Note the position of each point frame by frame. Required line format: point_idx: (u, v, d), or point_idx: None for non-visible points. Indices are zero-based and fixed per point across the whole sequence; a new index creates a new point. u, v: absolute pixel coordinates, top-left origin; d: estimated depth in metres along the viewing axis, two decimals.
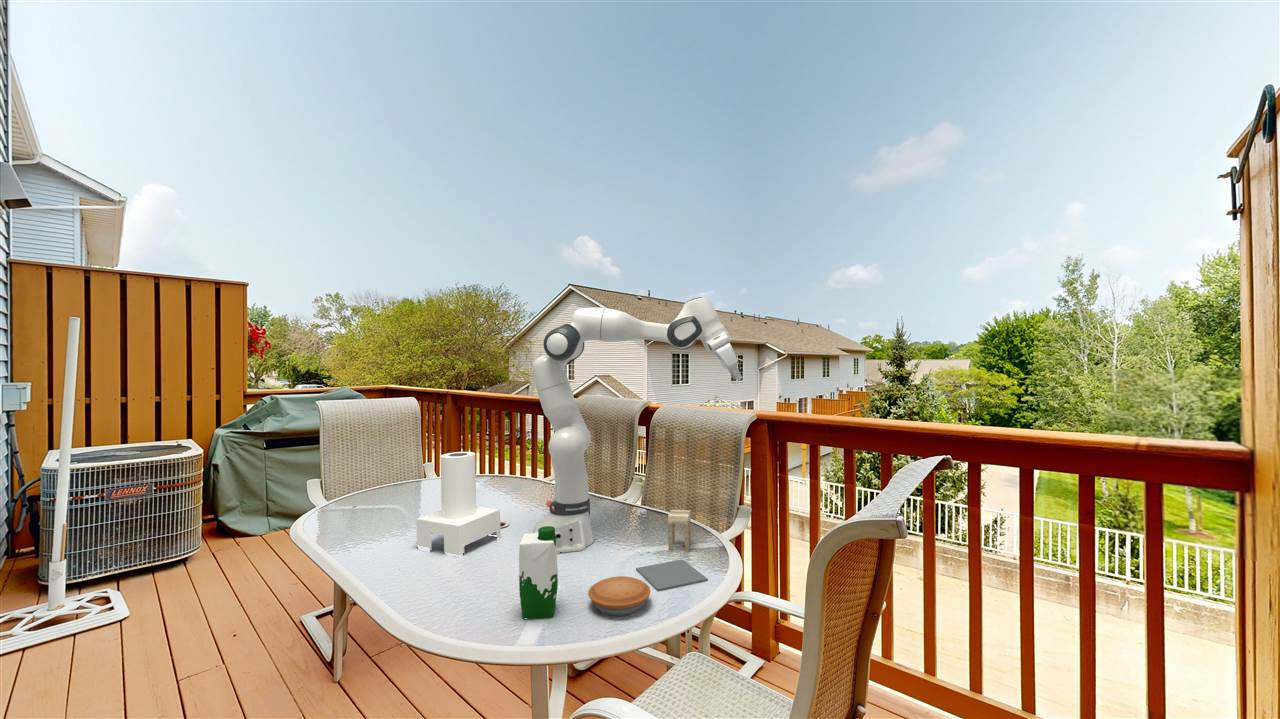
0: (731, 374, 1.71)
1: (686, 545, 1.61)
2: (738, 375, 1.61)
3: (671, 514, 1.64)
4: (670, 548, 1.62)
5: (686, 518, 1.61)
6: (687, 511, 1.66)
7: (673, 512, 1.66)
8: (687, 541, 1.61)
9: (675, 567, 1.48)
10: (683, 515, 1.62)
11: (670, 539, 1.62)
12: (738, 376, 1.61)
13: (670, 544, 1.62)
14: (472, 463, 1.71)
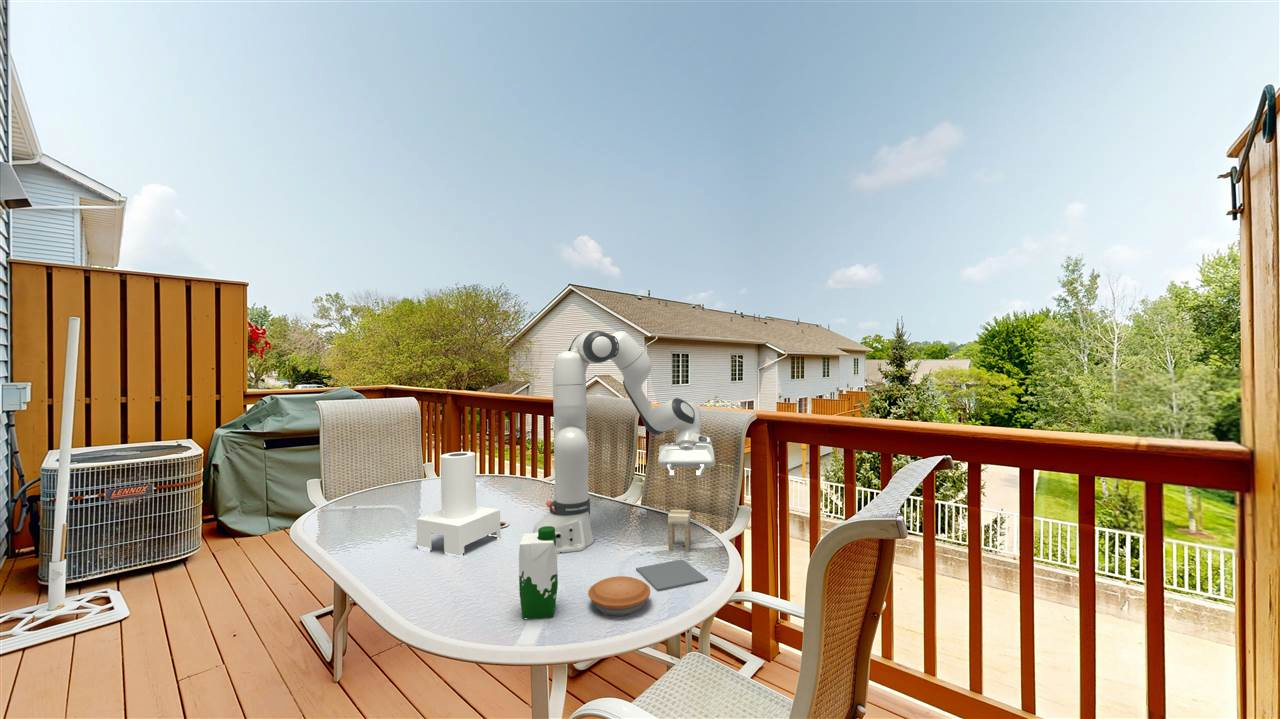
0: None
1: (686, 545, 1.61)
2: (701, 473, 1.77)
3: (671, 514, 1.64)
4: (670, 548, 1.62)
5: (686, 518, 1.61)
6: (687, 511, 1.66)
7: (673, 512, 1.66)
8: (687, 541, 1.61)
9: (675, 567, 1.48)
10: (683, 515, 1.62)
11: (670, 539, 1.62)
12: None
13: (670, 544, 1.62)
14: (472, 463, 1.71)
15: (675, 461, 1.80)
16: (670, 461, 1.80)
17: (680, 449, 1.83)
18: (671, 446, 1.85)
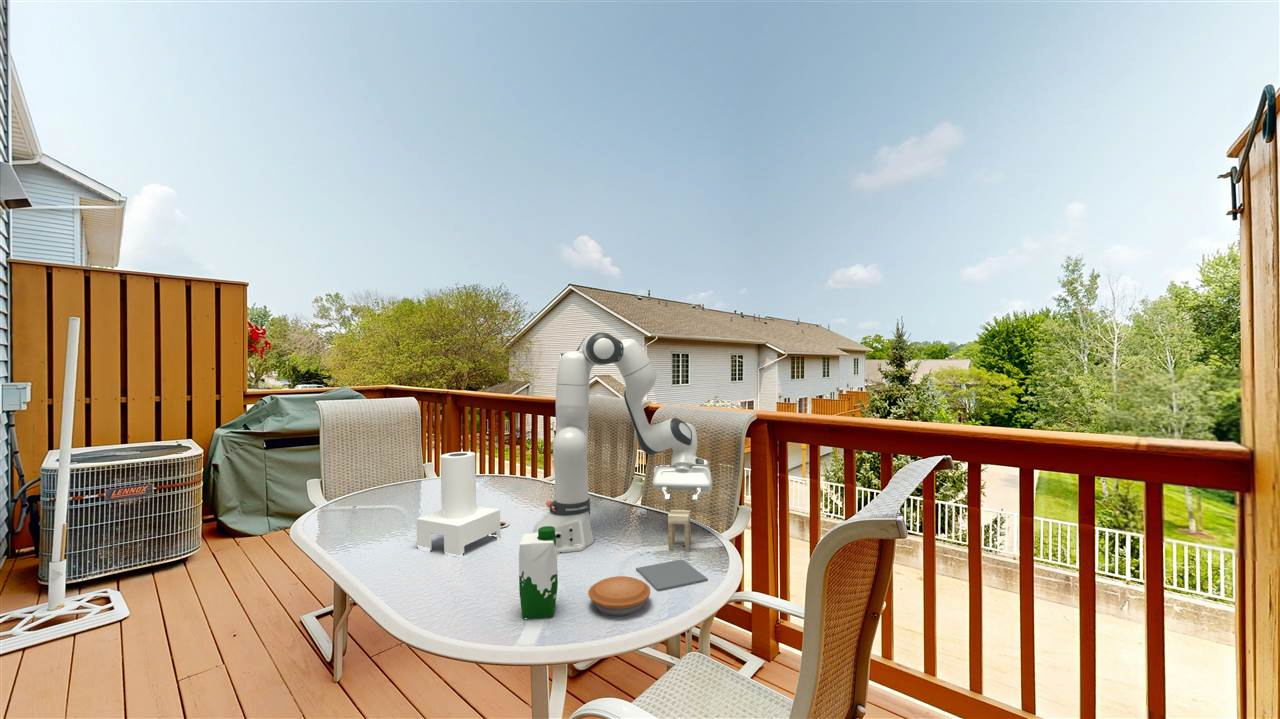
0: (666, 493, 1.72)
1: (686, 545, 1.61)
2: (697, 498, 1.70)
3: (671, 514, 1.64)
4: (670, 548, 1.62)
5: (686, 518, 1.61)
6: (687, 511, 1.66)
7: (673, 512, 1.66)
8: (687, 541, 1.61)
9: (675, 567, 1.48)
10: (683, 515, 1.62)
11: (670, 539, 1.62)
12: (697, 498, 1.70)
13: (670, 544, 1.62)
14: (472, 463, 1.71)
15: (671, 484, 1.73)
16: (665, 484, 1.73)
17: (676, 471, 1.76)
18: (666, 468, 1.78)
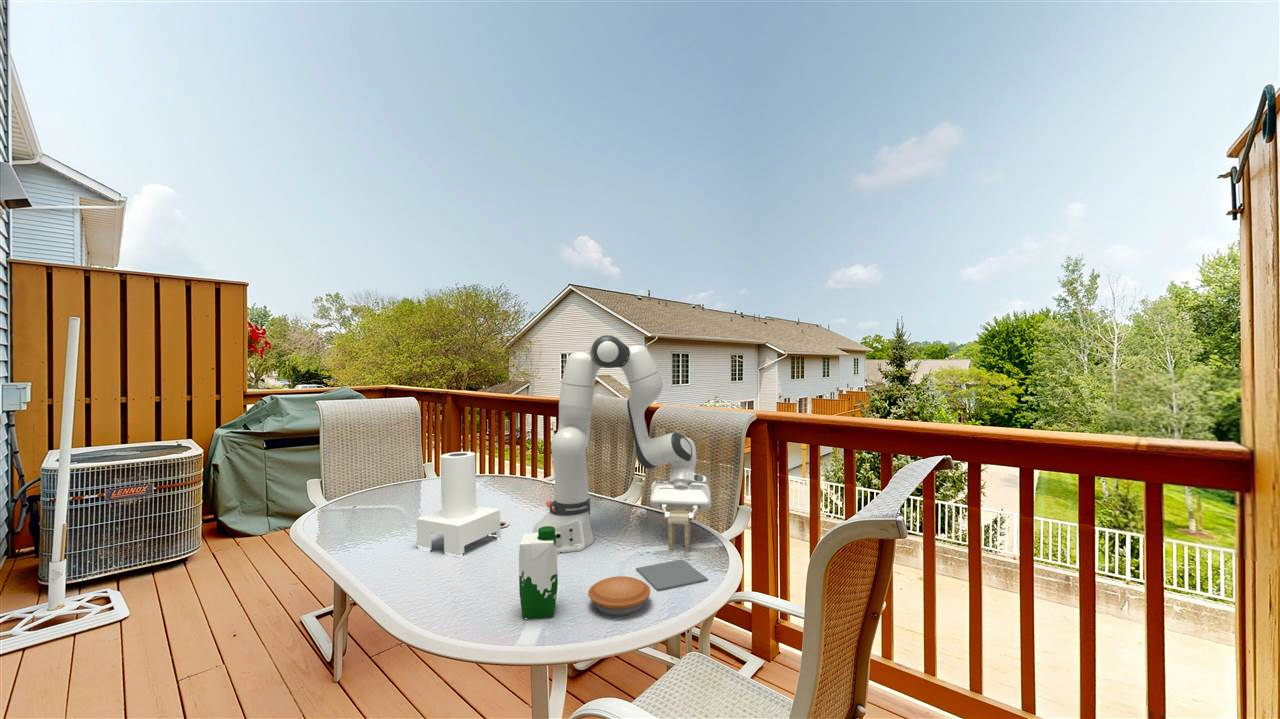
0: (666, 511, 1.66)
1: (686, 545, 1.61)
2: (693, 516, 1.65)
3: (671, 514, 1.64)
4: (670, 548, 1.62)
5: (686, 518, 1.61)
6: (687, 511, 1.66)
7: (673, 512, 1.66)
8: (687, 541, 1.61)
9: (675, 567, 1.48)
10: (683, 515, 1.62)
11: (670, 539, 1.62)
12: (693, 516, 1.64)
13: (670, 544, 1.62)
14: (472, 463, 1.71)
15: (668, 501, 1.67)
16: (663, 501, 1.68)
17: (674, 488, 1.71)
18: (664, 484, 1.72)
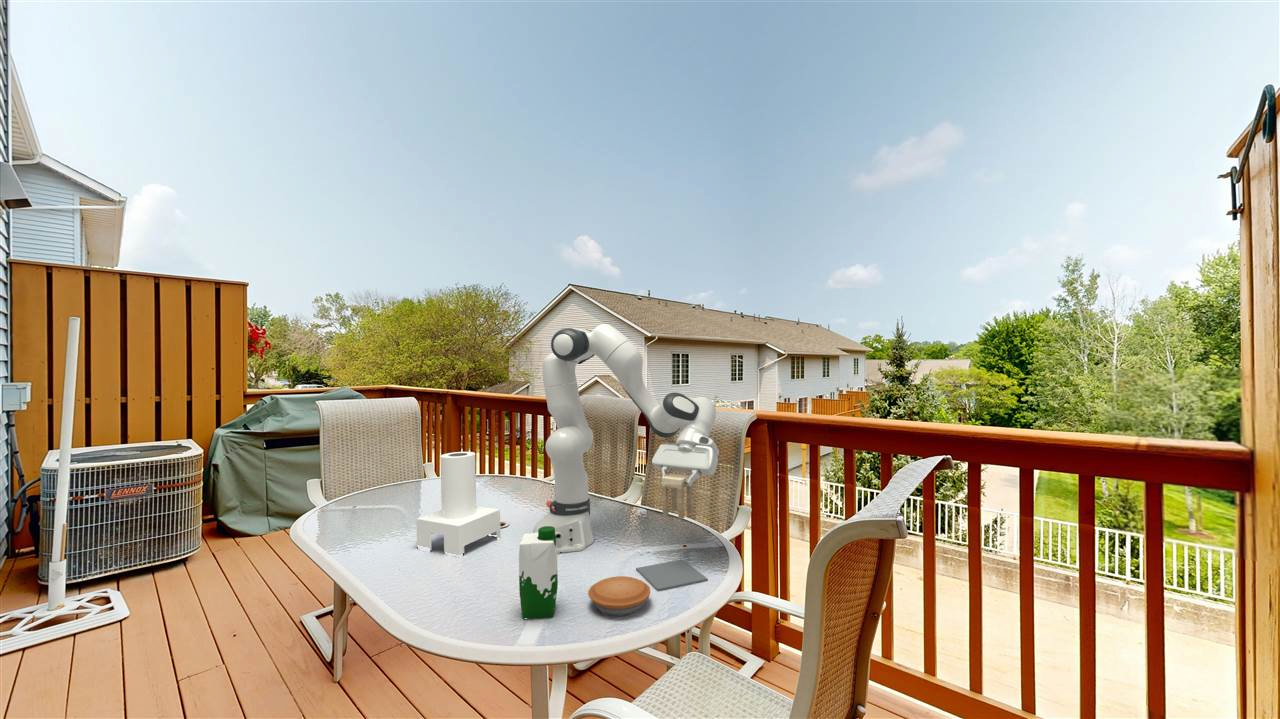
0: (664, 473, 1.52)
1: (679, 512, 1.45)
2: (691, 481, 1.47)
3: (666, 477, 1.49)
4: (664, 513, 1.48)
5: (679, 482, 1.45)
6: (687, 475, 1.49)
7: (672, 475, 1.50)
8: (680, 507, 1.45)
9: (675, 567, 1.48)
10: (677, 479, 1.46)
11: (664, 503, 1.48)
12: (691, 481, 1.47)
13: (664, 509, 1.48)
14: (472, 463, 1.71)
15: (668, 464, 1.52)
16: (663, 463, 1.53)
17: (678, 450, 1.55)
18: (670, 446, 1.57)
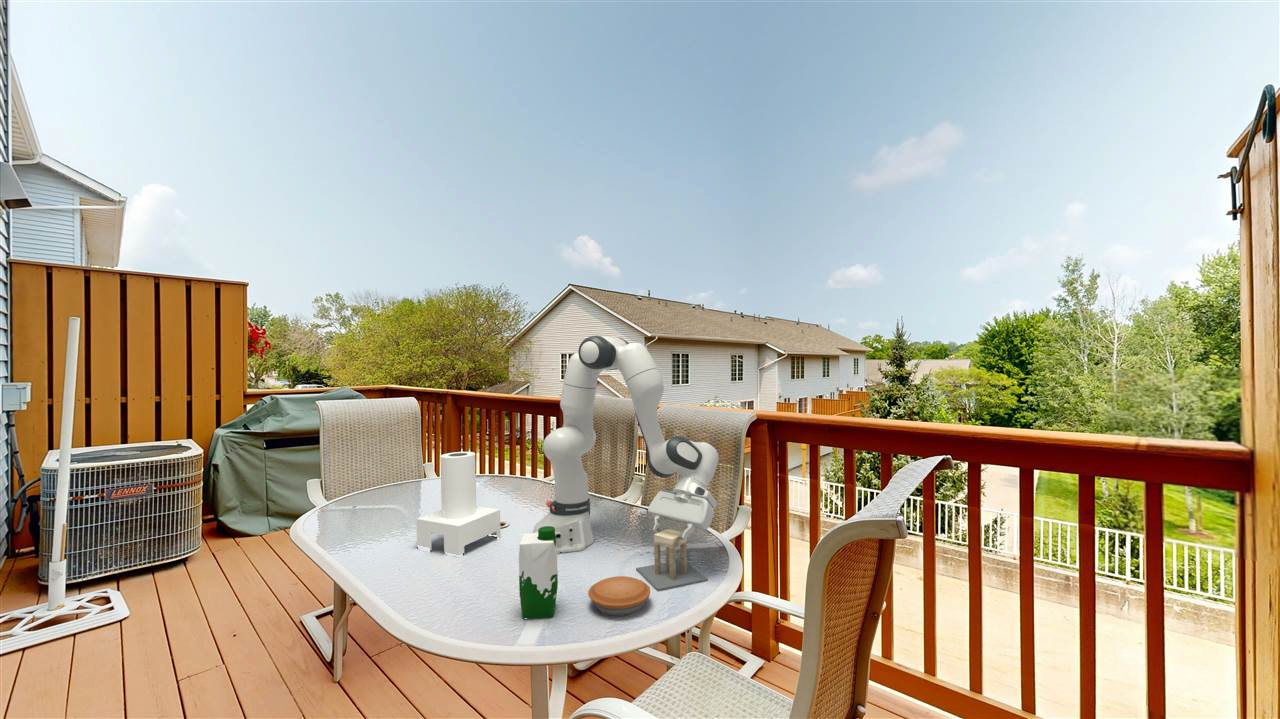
0: (656, 523, 1.47)
1: (670, 572, 1.40)
2: (686, 535, 1.41)
3: (659, 533, 1.44)
4: (656, 572, 1.43)
5: (670, 541, 1.40)
6: None
7: (665, 532, 1.45)
8: (671, 568, 1.39)
9: (675, 567, 1.48)
10: (669, 537, 1.41)
11: (656, 561, 1.43)
12: (686, 536, 1.40)
13: (656, 567, 1.43)
14: (472, 463, 1.71)
15: (663, 513, 1.47)
16: (658, 512, 1.49)
17: (675, 499, 1.49)
18: (667, 494, 1.52)
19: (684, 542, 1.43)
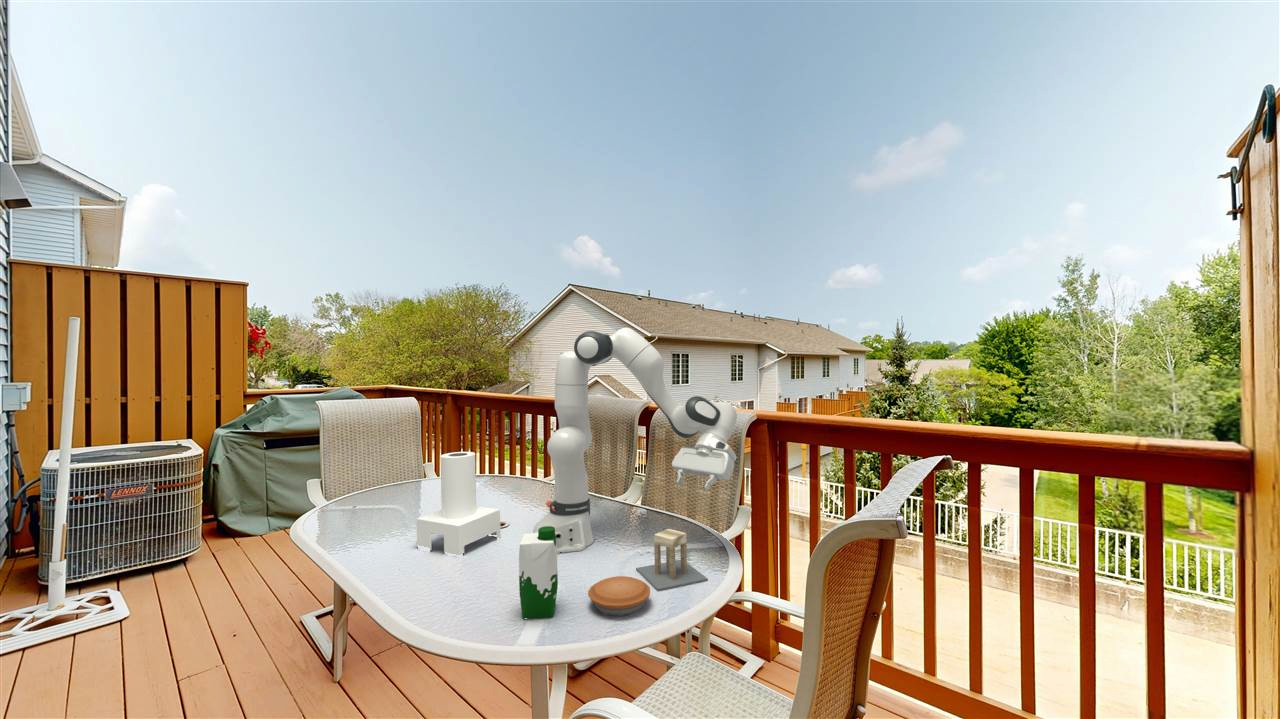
0: (680, 476, 1.58)
1: (670, 573, 1.40)
2: (709, 485, 1.51)
3: (659, 533, 1.44)
4: (656, 572, 1.43)
5: (670, 541, 1.40)
6: (681, 533, 1.44)
7: (666, 532, 1.45)
8: (671, 568, 1.39)
9: None
10: (669, 537, 1.41)
11: (656, 562, 1.43)
12: (708, 486, 1.51)
13: (656, 567, 1.43)
14: (472, 463, 1.71)
15: (686, 467, 1.58)
16: (682, 466, 1.59)
17: (697, 454, 1.59)
18: (689, 449, 1.62)
19: (684, 542, 1.43)
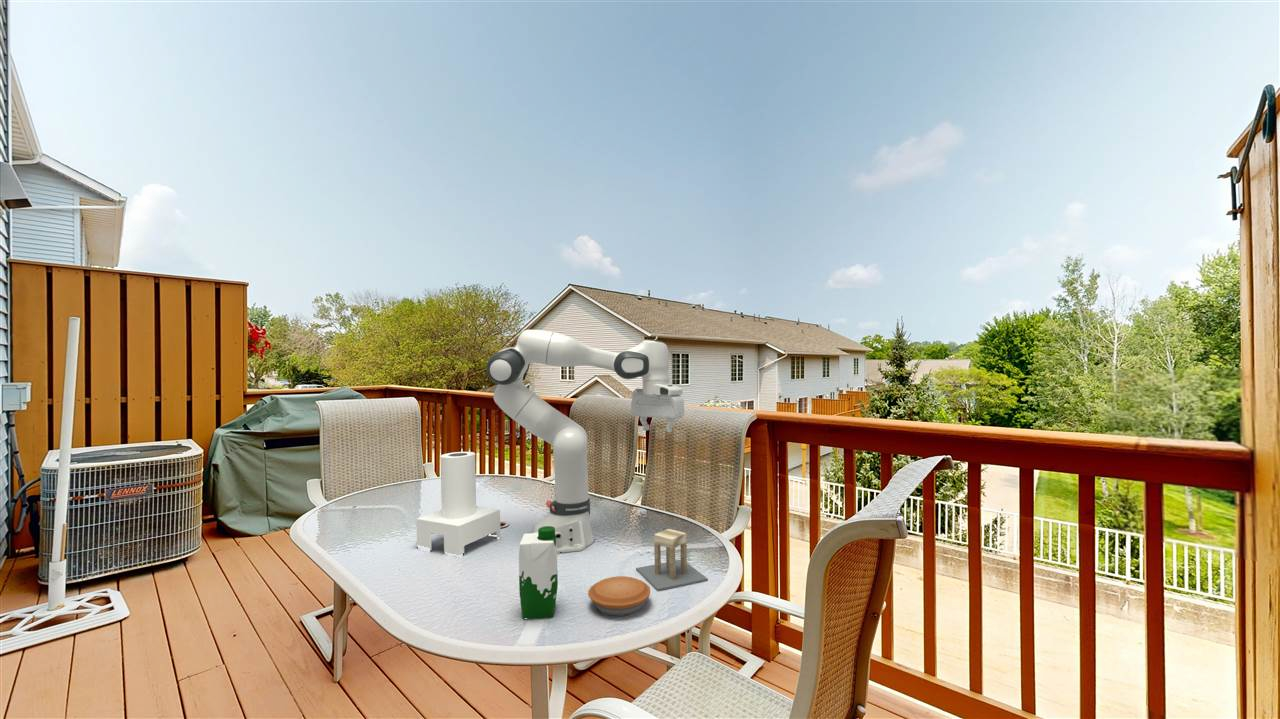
0: (643, 424, 1.70)
1: (670, 573, 1.40)
2: (670, 428, 1.64)
3: (659, 533, 1.44)
4: (656, 572, 1.43)
5: (670, 541, 1.40)
6: (681, 533, 1.44)
7: (666, 532, 1.45)
8: (671, 568, 1.39)
9: None
10: (669, 537, 1.41)
11: (656, 562, 1.43)
12: (670, 429, 1.64)
13: (656, 567, 1.43)
14: (472, 463, 1.71)
15: (645, 415, 1.69)
16: (641, 415, 1.70)
17: (648, 400, 1.68)
18: (640, 396, 1.70)
19: (684, 542, 1.43)
